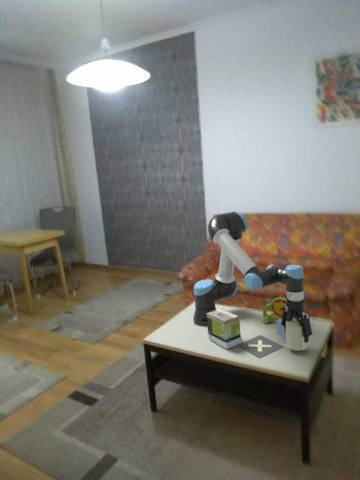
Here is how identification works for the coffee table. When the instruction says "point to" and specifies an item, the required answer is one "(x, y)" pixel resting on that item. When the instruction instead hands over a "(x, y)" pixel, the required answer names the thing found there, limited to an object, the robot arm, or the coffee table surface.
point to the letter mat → (260, 346)
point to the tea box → (224, 328)
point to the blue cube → (281, 328)
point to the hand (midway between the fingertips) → (296, 344)
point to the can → (294, 335)
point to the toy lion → (275, 310)
